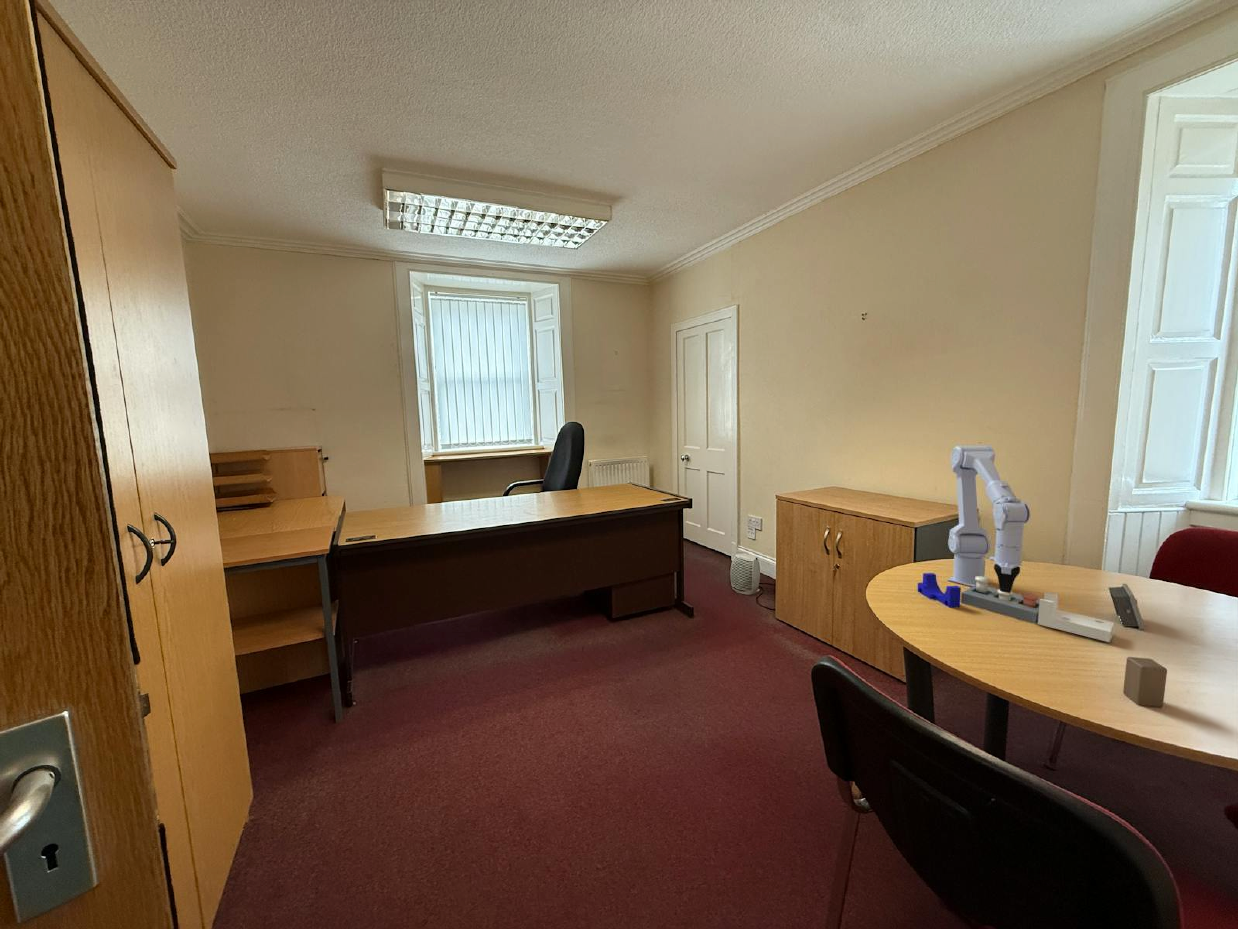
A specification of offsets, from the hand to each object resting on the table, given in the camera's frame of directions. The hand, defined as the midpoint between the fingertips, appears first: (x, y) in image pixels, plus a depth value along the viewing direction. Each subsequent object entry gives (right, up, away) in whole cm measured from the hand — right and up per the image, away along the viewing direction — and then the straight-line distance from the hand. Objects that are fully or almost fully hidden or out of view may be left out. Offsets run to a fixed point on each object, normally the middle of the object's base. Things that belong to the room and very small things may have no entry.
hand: (1005, 591), depth 134 cm
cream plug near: (-3, -1, +5) cm, 6 cm away
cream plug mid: (0, -4, 0) cm, 4 cm away
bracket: (+7, -7, -13) cm, 16 cm away
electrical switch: (+24, -6, -10) cm, 26 cm away
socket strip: (0, -5, +1) cm, 5 cm away
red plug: (+3, -3, -4) cm, 6 cm away
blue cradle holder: (-14, -5, +8) cm, 17 cm away
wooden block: (-7, -11, -41) cm, 43 cm away
